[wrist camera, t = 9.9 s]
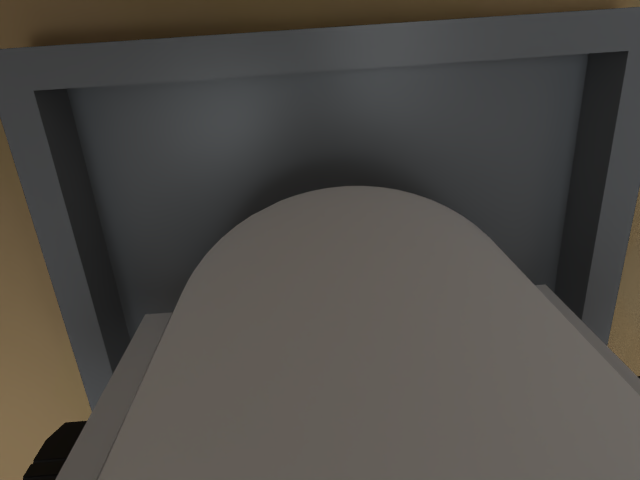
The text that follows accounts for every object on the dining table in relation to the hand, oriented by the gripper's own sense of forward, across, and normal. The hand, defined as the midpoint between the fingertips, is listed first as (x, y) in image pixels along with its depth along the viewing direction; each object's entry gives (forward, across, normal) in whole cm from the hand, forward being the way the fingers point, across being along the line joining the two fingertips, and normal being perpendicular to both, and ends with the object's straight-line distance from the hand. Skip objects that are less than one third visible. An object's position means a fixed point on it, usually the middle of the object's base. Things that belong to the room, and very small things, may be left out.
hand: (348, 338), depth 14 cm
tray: (+3, 0, 0) cm, 3 cm away
